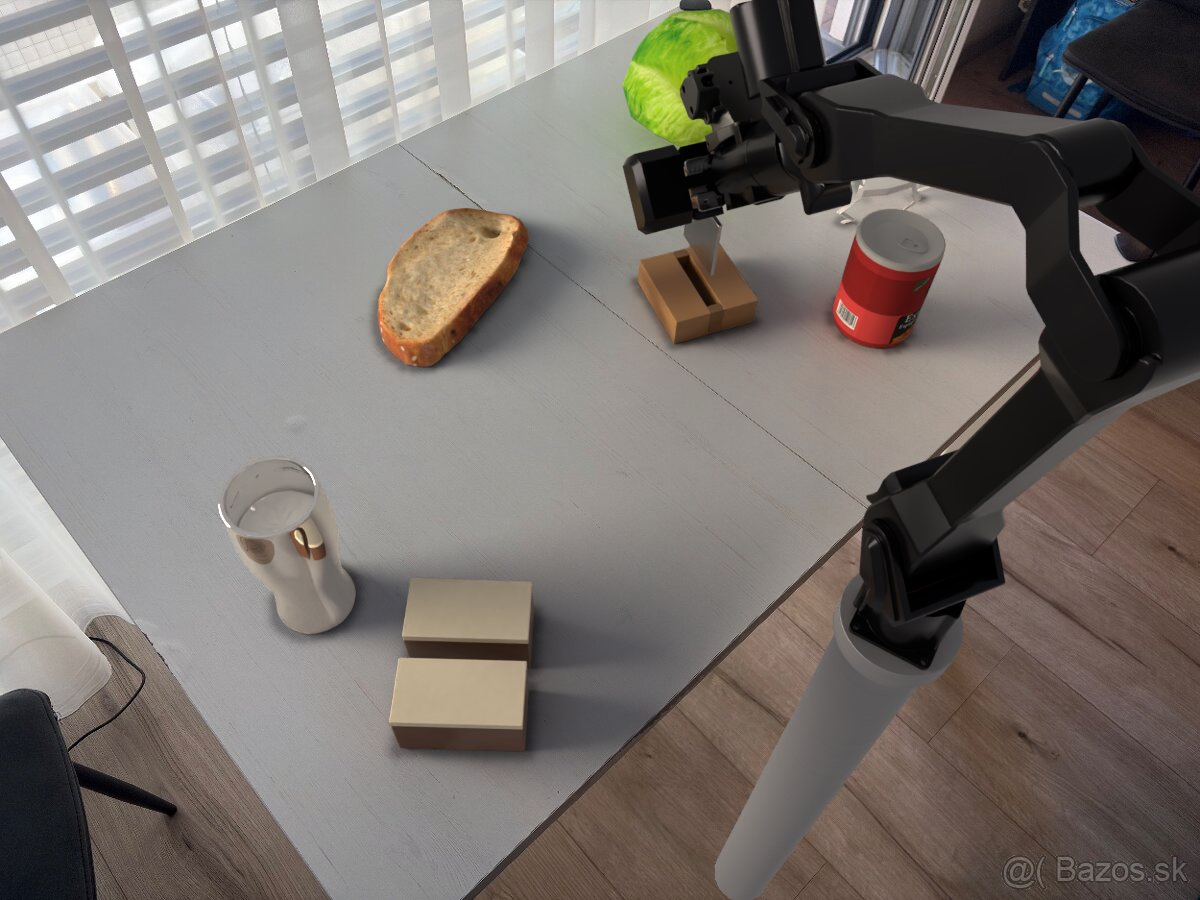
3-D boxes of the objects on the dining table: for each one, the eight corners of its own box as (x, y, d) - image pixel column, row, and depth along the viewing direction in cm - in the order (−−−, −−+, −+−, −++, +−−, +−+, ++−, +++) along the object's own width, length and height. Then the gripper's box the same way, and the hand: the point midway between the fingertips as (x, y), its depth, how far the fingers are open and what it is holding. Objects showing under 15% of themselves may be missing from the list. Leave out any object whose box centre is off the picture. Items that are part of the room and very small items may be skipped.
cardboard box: (753, 322, 95) (758, 300, 93) (673, 344, 93) (676, 322, 91) (714, 262, 100) (717, 239, 97) (637, 282, 98) (639, 260, 95)
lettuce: (720, 208, 105) (738, 97, 94) (591, 123, 113) (594, 13, 102) (808, 148, 111) (835, 39, 100) (680, 72, 120) (692, -37, 109)
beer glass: (320, 656, 73) (271, 558, 61) (252, 611, 75) (191, 507, 63) (379, 587, 77) (344, 481, 65) (313, 546, 79) (266, 436, 67)
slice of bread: (398, 377, 90) (392, 350, 87) (345, 253, 99) (338, 224, 96) (575, 322, 94) (576, 295, 91) (509, 209, 104) (507, 180, 101)
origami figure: (869, 166, 110) (881, 129, 106) (934, 199, 107) (949, 163, 103) (811, 218, 104) (820, 181, 100) (878, 255, 101) (890, 218, 97)
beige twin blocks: (533, 612, 76) (532, 581, 72) (525, 751, 70) (522, 726, 65) (419, 609, 76) (410, 577, 72) (399, 748, 69) (389, 722, 65)
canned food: (903, 360, 93) (939, 276, 84) (822, 336, 94) (848, 251, 85) (917, 306, 97) (953, 221, 88) (839, 285, 98) (866, 198, 89)
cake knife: (720, 273, 90) (736, 177, 81) (704, 278, 89) (719, 181, 80) (692, 232, 93) (705, 135, 84) (677, 236, 93) (689, 139, 84)
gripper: (869, 19, 72) (773, 72, 87) (639, 67, 68) (580, 114, 82) (897, 169, 74) (799, 196, 89) (676, 226, 70) (612, 244, 85)
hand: (700, 185), depth 86 cm, fingers closed on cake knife, 2 cm apart
